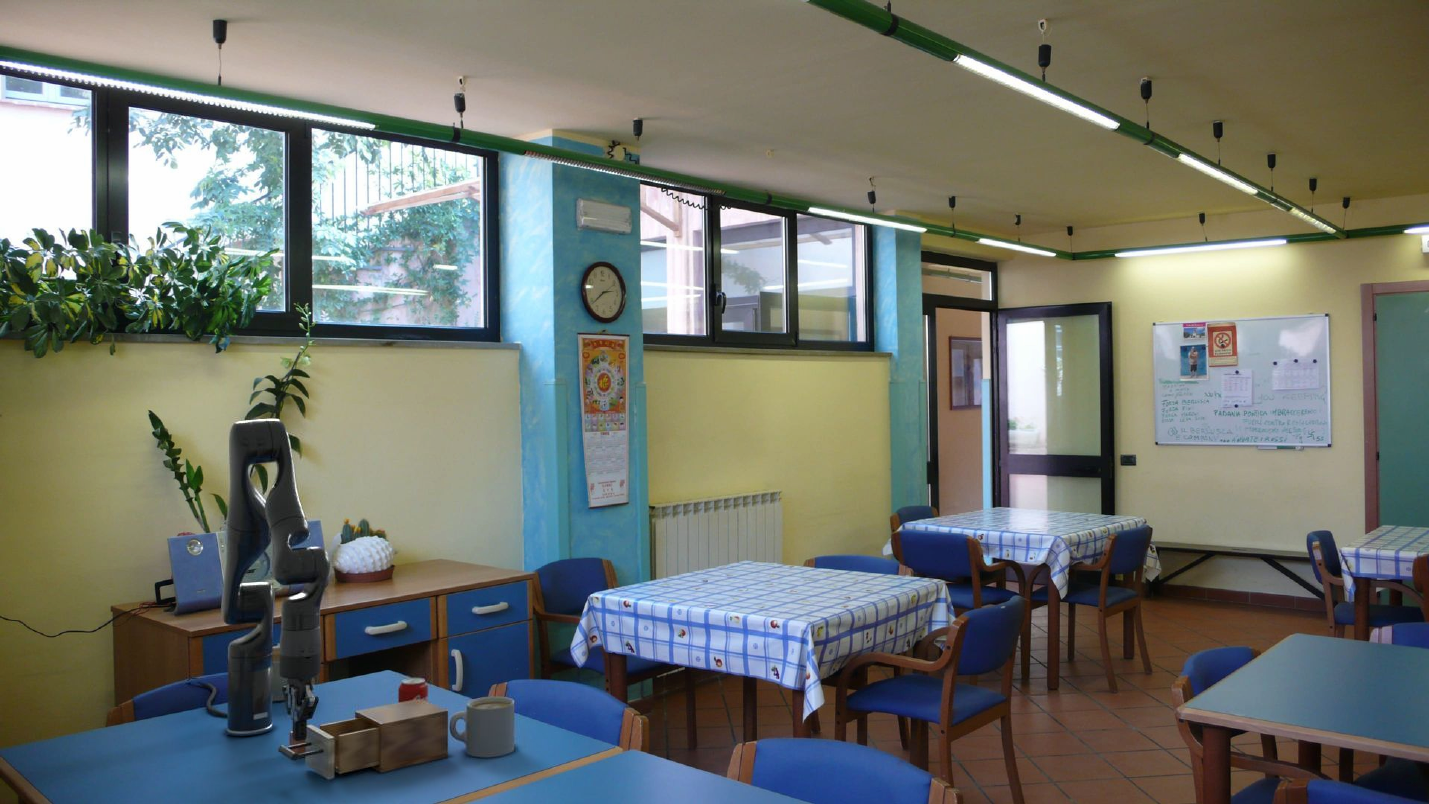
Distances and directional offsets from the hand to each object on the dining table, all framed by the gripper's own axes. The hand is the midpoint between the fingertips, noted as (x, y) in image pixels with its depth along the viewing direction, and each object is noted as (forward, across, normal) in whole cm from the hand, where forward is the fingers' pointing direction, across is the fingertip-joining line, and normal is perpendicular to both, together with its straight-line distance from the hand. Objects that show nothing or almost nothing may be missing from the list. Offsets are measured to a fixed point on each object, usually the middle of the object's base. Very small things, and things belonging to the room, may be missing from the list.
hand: (299, 739), depth 203 cm
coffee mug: (+8, +7, +36) cm, 38 cm away
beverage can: (+8, -13, +30) cm, 34 cm away
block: (+8, -16, +7) cm, 19 cm away
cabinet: (+8, 0, +21) cm, 22 cm away
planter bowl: (+9, -65, +19) cm, 68 cm away
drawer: (+7, 0, +7) cm, 10 cm away
